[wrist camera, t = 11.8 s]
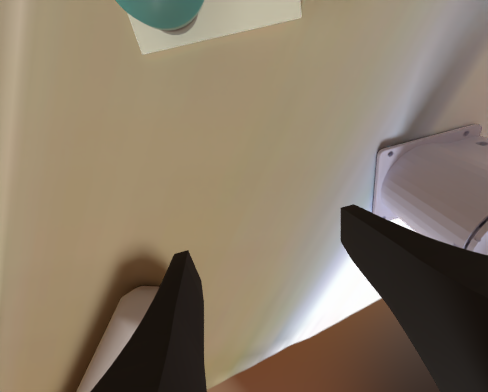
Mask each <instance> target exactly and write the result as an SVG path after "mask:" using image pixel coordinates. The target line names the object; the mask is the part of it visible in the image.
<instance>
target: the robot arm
mask: <svg viewBox="0 0 488 392" xmlns="http://www.w3.org/2000/svg"><path fill="white" fill-rule="evenodd" d="M481 130H482V127H481V125H478V124H473V125H470V126H466V127H462V128H458V129H455V130H451V131H447V132H443V133H440V134H436V135H432V136H428V137H425V138H421V139H417V140H413V141H410V142H406V143H402V144H398V145H395V146H391V147H387V148H383V149H381V150H380V151H379V152H378V155H377V165H376V176H375V188H374V200H373V212H372V213H371V212H369V211H367V210H365V209H363V208H360V207H358V206H356V205H350V206H346V207H342V208H341V242H342V244H343V246H344V248H345V249H346V251H347V253H348V254H349V256H350V257H351V259H352V260H353V262H354V263H355V264H356V266H357V267H358V268H359V269H360V271H361V272H362V273H363V275H364V276H365V277H366V278H367V280H368V281H369V282H370V283H371V285H372V286H373V287H374V288H375V290H376V291H377V292H378V293H379V295H380V296H381V297H382V298H383V300H384V301H385V302H386V304H387V305H388V306H389V308H390V309H391V311H392V312H393V314H394V315H395V317H396V318H397V320H398V321H399V323H400V325H401V326H402V328H403V329H404V331H405V332H406V334H407V336H408V337H409V339H410V341H411V342H412V344H413V345H414V347H415V349H416V350H417V352H418V354H419V355H420V357H421V359H422V360H423V362H424V364H425V365H426V367H427V369H428V371H429V372H430V374H431V376H432V377H433V379H434V381H435V383H436V385H437V386H438V388H439V390H440V392H488V138H485V137H481V136H480V133H481ZM390 151H391V152H390ZM389 152H390V154H389V155H388V153H389ZM396 218H400V219H401V220H402V221H403V222H405V223H406V224H407V225H408V226H410V227H411V228H412V229H413V230H414V231H416V232H414V231H411V230H409V229H407V228H404V227H402V226H400V225H397V224H395V223H393V222H391V221H389V220H392V219H396ZM90 392H207V390H206V379H205V368H204V300H203V291H202V284H201V279H200V277H199V275H198V272H197V270H196V268H195V265H194V263H193V261H192V258H191V256H190V253H189V251H188V250H187V251H184V252H180V253H177V254H174V256H173V258H172V260H171V263H170V265H169V267H168V270H167V272H166V274H165V276H164V279H163V281H162V283H161V285H160V287H159V289H158V291H157V293H156V295H155V297H154V299H153V301H152V303H151V304H150V306H149V308H148V310H147V312H146V313H145V315H144V317H143V319H142V320H141V322H140V324H139V325H138V327H137V329H136V330H135V332H134V333H133V335H132V336H131V338H130V340H129V341H128V343H127V344H126V345H125V347H124V348H123V350H122V351H121V352H120V354H119V355H118V357H117V358H116V359H115V361H114V362H113V363H112V365H111V366H110V368H109V369H108V370H107V372H106V373H105V374H104V375H103V377H102V378H101V379H100V380H99V381H98V383H97V384H96V385H95V386H94V388H93V389H92V390H91V391H90Z"/></svg>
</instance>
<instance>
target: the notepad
mask: <svg viewBox="0 0 488 392" xmlns="http://www.w3.org/2000/svg"><path fill="white" fill-rule="evenodd" d="M128 16H129V19H130V22H131V25H132V27H133V30H134V33H135V36H136V39H137V41H138V44H139V47H140V50H141V53H142V55H144V54H148V53H152V52H157V51H161V50H165V49H170V48H174V47H178V46H183V45H187V44H191V43H196V42H200V41H204V40H208V39H213V38H217V37H221V36H226V35H230V34H234V33H239V32H243V31H247V30H252V29H256V28H260V27H265V26H269V25H273V24H277V23H282V22H286V21H290V20H295V19H299V18H302V13H301V0H204V3H203V5H202V7H201V9H200V11H199V13H198V17H197V20H196V22H195V24H194V25H193V27H192V28H191V29H190V30H189V31H187V32H186V33H184V34H181V35H170V34H167V33H164V32H163V31H161V30H159V29H155V28H152V27H150V26H148V25H146V24H144V23H142V22H140V21H139V20H137V19H135V18H134V17H132V16H131V15H130V14H129V13H128Z"/></svg>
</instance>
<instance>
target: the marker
mask: <svg viewBox="0 0 488 392" xmlns="http://www.w3.org/2000/svg"><path fill="white" fill-rule="evenodd" d="M116 1H117V3H118V4H119V5H120V6H121V7H122V8H123V9H124V10H125V11H126V12H127V13H129V14H130V15H131V16H132V17H134V18H135V19H137V20H139V21H140V22H142V23H144V24H146V25H148V26H150V27H152V28H155V29H159V30H161V31H163V32H164V33H167V34H170V35H181V34H184V33H186V32H187V31H189V30H190V29H191V28H192V27H193V25H194V24H195V22H196V20H197V17H198V13H199V11H200V9H201V7H202V5H203V3H204V0H116Z"/></svg>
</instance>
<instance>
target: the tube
mask: <svg viewBox="0 0 488 392" xmlns="http://www.w3.org/2000/svg"><path fill="white" fill-rule="evenodd" d="M158 289H159V287H158V286H140V287H137V288H135V289H133V290H132V291H130V292H129V293H127V294H126V295H124V296H123V297H121V299H120V301H119V303H118V305H117V307H116V310H115V312H114V314H113V316H112V318H111V320H110V322H109V324H108V326H107V328H106V330H105V333H104V335H103V337H102V339H101V341H100V343H99V345H98V347H97V349H96V351H95V353H94V356H93V358H92V360H91V362H90V364H89V366H88V368H87V370H86V372H85V374H84V376H83V379H82V381H81V383H80V385H79V387H78V389H77V391H76V392H90V391H91V390H92V389H93V388H94V386H95V385H96V384H97V383H98V381H99V380H100V379H101V378H102V377H103V375H104V374H105V373H106V372H107V370H108V369H109V368H110V366H111V365H112V363H113V362H114V361H115V359H116V358H117V357H118V355H119V354H120V352H121V351H122V350H123V348H124V347H125V345H126V344H127V343H128V341H129V340H130V338H131V336H132V335H133V333H134V332H135V330H136V329H137V327H138V325H139V324H140V322H141V320H142V319H143V317H144V315H145V313H146V312H147V310H148V308H149V306H150V304H151V303H152V301H153V299H154V297H155V295H156V293H157V291H158Z"/></svg>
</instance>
